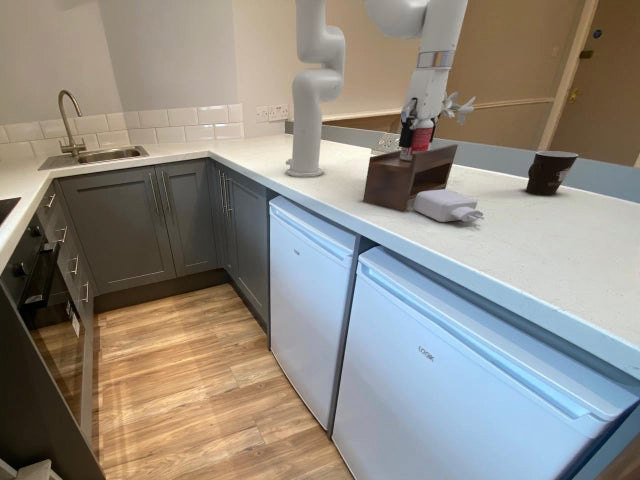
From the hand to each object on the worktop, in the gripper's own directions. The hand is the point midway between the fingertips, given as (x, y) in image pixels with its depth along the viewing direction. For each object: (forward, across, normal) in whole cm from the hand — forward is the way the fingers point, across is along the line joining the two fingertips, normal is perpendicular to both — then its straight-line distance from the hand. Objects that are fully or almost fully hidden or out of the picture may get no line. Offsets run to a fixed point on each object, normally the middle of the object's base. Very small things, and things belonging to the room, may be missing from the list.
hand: (415, 144), depth 86 cm
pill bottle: (+4, 0, 0) cm, 4 cm away
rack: (+14, 0, 0) cm, 14 cm away
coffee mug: (+14, -30, +21) cm, 39 cm away
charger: (+14, +7, +16) cm, 22 cm away
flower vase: (+14, -20, -7) cm, 25 cm away
